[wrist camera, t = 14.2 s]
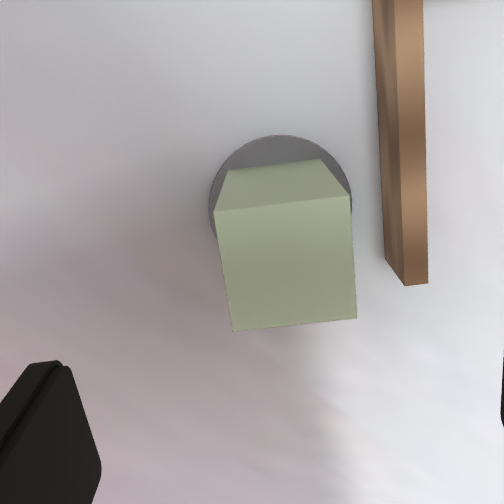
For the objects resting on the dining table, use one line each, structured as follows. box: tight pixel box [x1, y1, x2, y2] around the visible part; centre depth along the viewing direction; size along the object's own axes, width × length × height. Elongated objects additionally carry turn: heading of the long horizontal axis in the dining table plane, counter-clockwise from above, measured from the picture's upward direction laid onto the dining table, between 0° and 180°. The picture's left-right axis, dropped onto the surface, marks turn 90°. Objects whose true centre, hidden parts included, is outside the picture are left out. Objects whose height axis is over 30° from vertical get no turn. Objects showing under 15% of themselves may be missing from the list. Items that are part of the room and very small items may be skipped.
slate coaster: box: [209, 135, 352, 240], centre depth 27 cm, size 8×8×1 cm
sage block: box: [213, 159, 357, 332], centre depth 23 cm, size 5×5×9 cm
